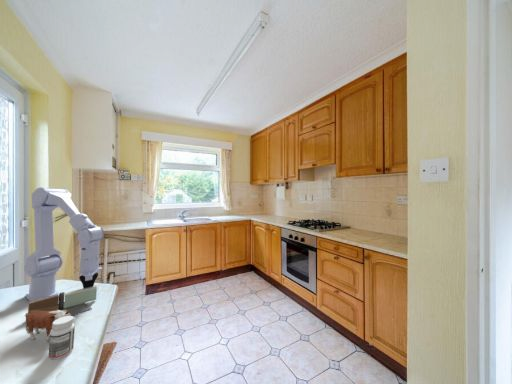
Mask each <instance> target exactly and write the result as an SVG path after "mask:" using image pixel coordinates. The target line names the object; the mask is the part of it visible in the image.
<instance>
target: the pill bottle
mask: <svg viewBox="0 0 512 384" xmlns="http://www.w3.org/2000/svg"><path fill="white" fill-rule="evenodd" d="M75 326H76V325H75V323H74V316H65V317H61V318H59V319H57V320H55V321H54V322H53V324H52V329H51V331H50V335H49V336H50V339H49V341H48V359H50V360H57V359H60V358H64V357H65V356H67V355H69V354H70V353H71V352H72V351H73V350H74V346H75V328H76V327H75Z"/></svg>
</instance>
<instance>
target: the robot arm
mask: <svg viewBox="0 0 512 384" xmlns="http://www.w3.org/2000/svg"><path fill="white" fill-rule="evenodd" d="M31 208H32V209H33V218H34V219H33V221H34V223H33V224H34V244H35V247H34V248H35V250H34V251H33V252H32V253H31V254H30V255H28V256H27V257H26V259H25V260H26V263H25V265H24V269H23V270H24V273H25V274H26V275H27V276H28V277H30V279H29V286H28V287H29V291H28V293H26V294H25V295H24V296H25V297H26V299H27V300H28V301H29V302H33V301H37V300H40V299H44V298H48V297H51V296H55V295H59V293H60V292H58V291H57V290H56V281H57V272H59V269H61V268H62V266H63V262H64V261H63V260H64V259H63V257H62V256H61V251H60V250H58V249H56V248H55V246H54V245H55V243H54V223H53V220H54V219H53V217H54V216H53V211H54V210H55V209H57V208H59V209H61V210H62V211H63V212H64V213H65V214H66V215H67V216H68V218H69V220H68V223H69V224H70V225H71V227H72V228H73V229H74V230H75V231H76V233H77V234H78V235H76V238H77V240H78V243H79V248H80V260H79V261H80V262H79V263H80V264H79V271H78V274H79V275H80V276H79V280H80V282H81V284H82V289H84V288H88V287H93V286H95V282H96V280H97V279H98V276H99V271H102V270H103V267H101V266H100V265H99V264H100V252H101V251H100V250H101V249H100V247H101V241H102V240H103V239H104V237H105V230H104V229H103V227H101V226H97V225H96V224H94V223H93V221H92V220H91V219H90V218H89V215H87V214H85V213H81V212H80V210H79V209H78V207H76V205H75V204H74V202H73V200H72V193H70V191H69V190H68V189H66V188H49V187H37V188H36V189H35V190H34V191H33V192H32V193H31ZM99 266H100V267H99Z"/></svg>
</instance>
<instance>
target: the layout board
mask: <svg viewBox="0 0 512 384" xmlns="http://www.w3.org/2000/svg"><path fill="white" fill-rule="evenodd" d="M64 303H65V301H64ZM68 310H71V311H70V312H69V313H68V314H65V316H73V317H74V316H77V315H79V314H82V313H84V312H88V311H91V310H92V307H91V306H90V305H89V304H87V302H86V303H82V304H78V305H74V306H71V307H67V308H64V309H62V310H61V311H64V312H66V311H68ZM27 315H28V312H27V313H25V316H27Z"/></svg>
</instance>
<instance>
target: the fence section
mask: <svg viewBox="0 0 512 384" xmlns="http://www.w3.org/2000/svg"><path fill="white" fill-rule="evenodd" d="M58 293H59V294H58V295H55V296H51V297H47V298H44V299H40V300H36V301H33V302H30V301H29V302H28V306H27V307H28V308H27V313H28V314H29V312H30V311H32V310H36V311H37V310H39V311H57V310H62V309H64V302H65V293H66V292H65V291H63V292H58Z"/></svg>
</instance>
